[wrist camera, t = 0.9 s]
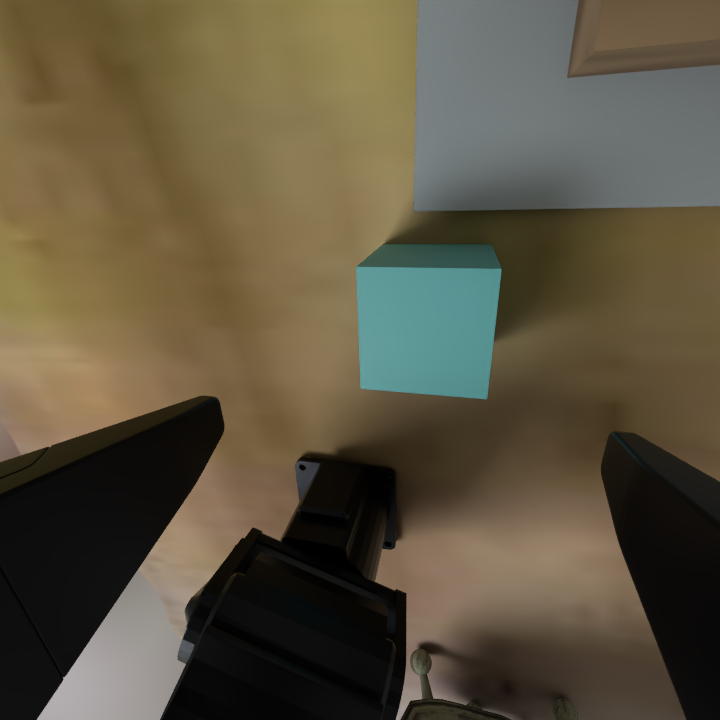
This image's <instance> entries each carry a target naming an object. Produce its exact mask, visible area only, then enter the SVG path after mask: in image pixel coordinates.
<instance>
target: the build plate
mask: <svg viewBox="0 0 720 720" xmlns="http://www.w3.org/2000/svg"><path fill="white" fill-rule="evenodd" d="M578 1H579V0H418V24H417V73H416V121H415V170H414V211H468V210H523V209H578V208H633V207H688V206H720V65H712V66H701V67H689V68H677V69H666V70H654V71H642V72H631V73H619V74H607V75H596V76H584V77H572V78H567V74H568V67H569V61H570V54H571V47H572V41H573V34H574V27H575V21H576V14H577V7H578Z"/></svg>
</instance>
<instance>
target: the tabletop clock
mask: <svg viewBox="0 0 720 720" xmlns="http://www.w3.org/2000/svg"><path fill="white" fill-rule="evenodd" d="M410 664H411V668H412V669H413V671H414V672H415V673H416V674H418V675H420V679H421V689H422V699H421V700H414V701H410V703H409V705H408V707H407V709H406V710H405V712H404V714H403V716H402V718H401V720H511V719H509V718H507V717H504V716H502V715H499V714H495V713H492V712H488V711H484V710H483V709H482V708H481V707H480V705H478V704H476V703H475V702H472V703H468V704H467V705H463V704H459V703H455V702H451V701H447V700H443V699H433V696H432V692H431V688H430V684H429V680H428V676H427V673H428V672H429V671H430V669H431V665H432V661H431V657H430V655H429V653H428V652H427V651H425V650H423V649H417V650H415V651H414V652H413V653H412V655H411V658H410ZM553 712H554V715H555V718H556V719H557V720H578V713H577V710H576V708H575V706H574V705H573V704H572V703H571V702H570V701H569V700H567V699H565V698H559V699H557V700H556V701H555V702H554V704H553Z"/></svg>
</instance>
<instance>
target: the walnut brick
mask: <svg viewBox="0 0 720 720" xmlns="http://www.w3.org/2000/svg"><path fill="white" fill-rule="evenodd" d="M712 65H720V0H579V1H578V7H577V14H576V21H575V27H574V34H573V41H572V47H571V54H570V61H569V67H568V74H567V78H572V77H584V76H596V75H607V74H619V73H631V72H642V71H654V70H666V69H677V68H689V67H701V66H712Z"/></svg>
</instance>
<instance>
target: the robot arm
mask: <svg viewBox="0 0 720 720" xmlns="http://www.w3.org/2000/svg"><path fill="white" fill-rule="evenodd" d="M223 432H224V420H223V415H222V410H221V406H220V402H219V400H218V399H217V398H216V397H213V396H199V397H196V398H193V399H190V400H187V401H184V402H181V403H178V404H175V405H172V406H169V407H166V408H163V409H160V410H157V411H154V412H151V413H148V414H145V415H142V416H139V417H136V418H133V419H130V420H127V421H124V422H121V423H118V424H115V425H112V426H109V427H106V428H103V429H100V430H97V431H94V432H91V433H88V434H85V435H82V436H79V437H76V438H73V439H70V440H67V441H64V442H61V443H58V444H55V445H52V446H51V447H45V448H42V449H39V450H36V451H33V452H30V453H27V454H24V455H21V456H18V457H15V458H12V459H9V460H6V461H3V462H0V720H37V718H38V717H39V715H40V714H41V712H42V711H43V709H44V708H45V706H46V705H47V703H48V702H49V700H50V699H51V697H52V696H53V694H54V693H55V692H56V690H57V689H58V687H59V686H60V684H61V683H62V681H63V677H65V676H66V675H67V673H68V672H69V670H70V669H71V667H72V666H73V664H74V663H75V662H76V660H77V658H78V657H79V656H80V654H81V653H82V651H83V650H84V648H85V647H86V645H87V644H88V642H89V641H90V639H91V638H92V636H93V635H94V634H95V632H96V631H97V629H98V628H99V626H100V625H101V623H102V622H103V620H104V619H105V617H106V616H107V614H108V613H109V611H110V610H111V608H112V607H113V605H114V604H115V603H116V601H117V600H118V598H119V597H120V595H121V594H122V592H123V591H124V589H125V588H126V586H127V585H128V583H129V582H130V580H131V579H132V577H133V576H134V574H135V573H136V571H137V570H138V569H139V567H140V566H141V564H142V563H143V561H144V560H145V558H146V557H147V555H148V554H149V552H150V551H151V549H152V548H153V546H154V545H155V543H156V542H157V541H158V539H159V538H160V536H161V535H162V533H163V532H164V530H165V529H166V527H167V526H168V524H169V523H170V521H171V520H172V518H173V517H174V515H175V514H176V512H177V511H178V510H179V508H180V507H181V505H182V504H183V502H184V501H185V499H186V498H187V496H188V495H189V493H190V492H191V490H192V489H193V487H194V486H195V484H196V482H197V481H198V479H199V477H200V476H201V474H202V472H203V470H204V468H205V466H206V464H207V463H208V461H209V459H210V457H211V455H212V453H213V452H214V450H215V448H216V446H217V444H218V442H219V440H220V439H221V437H222V435H223ZM302 464H303V465H305V466H306V467H305V466H303V465H302ZM295 469H296V477H297V485H298V493H299V501H300V502H299V504H298V506H297V508H296V510H295V512H294V514H293V516H292V518H291V520H290V522H289V524H288V526H287V528H286V530H285V532H284V534H283V536H282V538H281V540H280V541H279V540H277V539H274V538H272V537H270V536H267V535H265V534H263V533H262V531H260V530H258V529H256V528H252V529H251V531H250V532H249V533H248V534H247V536H246V537H245V538H242V539H241V540H240V541H239V543H238V544H237V545H235V547H234V549H233V550H232V552H231V553H230V554H229V556H228V557H227V558H226V560H225V561H224V562H223V564H222V565H221V566H220V567H219V569H218V570H217V571H216V573H215V574H214V575H213V577H212V578H211V579H210V580H209V581H208V582H207V583H206V584H205V585H204V586H203V587H202V588H201V589H200V590H199V591H198V592H197V593H196V594H195V595H194V596H193V597H192V598H191V599H190V601H189V602H188V604H187V606H186V608H185V616H186V621H187V626H186V629H185V632H184V637H183V639H182V642H181V645H180V648H179V652H178V660H179V661H181V662H183V663H185V664H186V666H185V668H184V670H183V672H182V674H181V676H180V679H179V681H178V683H177V685H176V687H175V689H174V691H173V693H172V695H171V697H170V700H169V702H168V704H167V706H166V708H165V710H164V712H163V715H162V717H161V719H160V720H396V716H397V713H398V709H399V705H400V700H401V696H402V691H403V685H404V678H405V670H406V593H404V592H402V591H400V590H397V589H396V590H392V589H390V588H388V587H386V586H383V585H381V584H379V583H376V582H375V579H376V574H377V570H378V565H379V561H380V556H381V551H382V548H383V549H390V550H391V549H394V548H395V545H396V512H397V475H396V472H395V471H394V470H393V469H390V468H385V467H377V466H369V465H361V464H353V463H346V462H338V461H330V460H322V459H314V458H306V457H301V458H299V459H298V461H297V462H296V464H295ZM387 475H388V476H390V477H391V478H388V477H386V476H387ZM601 475H602V480H603V484H604V488H605V492H606V496H607V500H608V504H609V508H610V512H611V516H612V520H613V524H614V528H615V532H616V535H617V539H618V542H619V545H620V548H621V551H622V554H623V556H624V559H625V561H626V564H627V567H628V569H629V572H630V574H631V577H632V580H633V582H634V585H635V588H636V590H637V593H638V595H639V598H640V601H641V603H642V606H643V608H644V611H645V614H646V616H647V619H648V621H649V624H650V627H651V629H652V632H653V634H654V637H655V640H656V642H657V645H658V647H659V650H660V653H661V655H662V658H663V660H664V663H665V666H666V668H667V671H668V673H669V676H670V679H671V681H672V684H673V686H674V689H675V692H676V694H677V697H678V699H679V702H680V705H681V707H682V710H683V712H684V715H685V718H686V720H720V482H719V481H717V480H716V479H714V478H712V477H710V476H709V475H707V474H705V473H703V472H702V471H700V470H698V469H696V468H695V467H693V466H691V465H689V464H688V463H686V462H684V461H682V460H681V459H679V458H677V457H675V456H674V455H672V454H670V453H668V452H667V451H665V450H663V449H661V448H660V447H658V446H656V445H654V444H653V443H651V442H649V441H647V440H646V439H644V438H642V437H640V436H639V435H637V434H635V433H629V432H617V431H615V432H612V433H610V435H609V436H608V439H607V443H606V447H605V451H604V455H603V459H602V463H601ZM388 541H389V542H388Z"/></svg>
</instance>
